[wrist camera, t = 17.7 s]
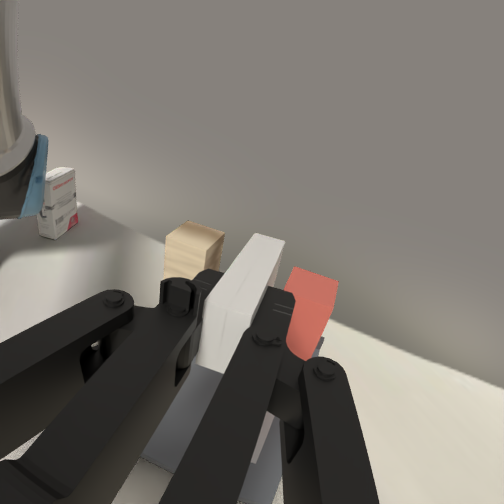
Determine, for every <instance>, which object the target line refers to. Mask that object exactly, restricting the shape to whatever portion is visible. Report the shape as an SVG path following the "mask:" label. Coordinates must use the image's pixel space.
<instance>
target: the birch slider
mask: <svg viewBox="0 0 504 504" xmlns="http://www.w3.org/2000/svg"><path fill="white" fill-rule="evenodd" d="M224 235H225V233H224V232H221V231H218V230H215V229H212V228H209V227H206V226H203V225H200V224H197V223H194V222H191V221H186V222H185V223H184V224H182V225H181V226H179V227H178V228H177V229H175V230H174V231H172V232H171V233H170V234H168V235H167V236H166V244H165V261H164V279H166V278H171V277H182V278H187V279H190V280H192V279H194V277H195V276H196V275H197V274H198V273H199V272H201V271H203V270H206V269H208V268H209V269H212V270H215V271H219V265H220V260H221V254H222V248H223V242H224Z"/></svg>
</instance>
